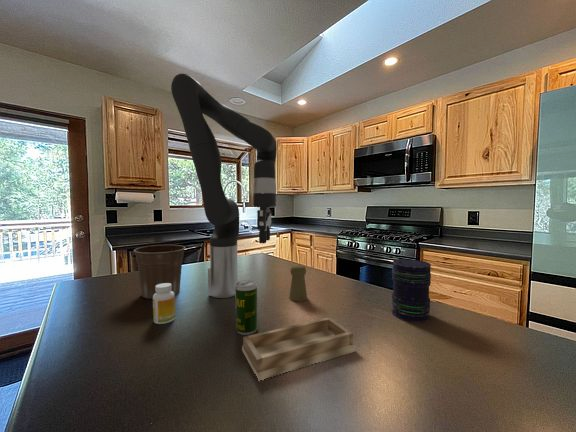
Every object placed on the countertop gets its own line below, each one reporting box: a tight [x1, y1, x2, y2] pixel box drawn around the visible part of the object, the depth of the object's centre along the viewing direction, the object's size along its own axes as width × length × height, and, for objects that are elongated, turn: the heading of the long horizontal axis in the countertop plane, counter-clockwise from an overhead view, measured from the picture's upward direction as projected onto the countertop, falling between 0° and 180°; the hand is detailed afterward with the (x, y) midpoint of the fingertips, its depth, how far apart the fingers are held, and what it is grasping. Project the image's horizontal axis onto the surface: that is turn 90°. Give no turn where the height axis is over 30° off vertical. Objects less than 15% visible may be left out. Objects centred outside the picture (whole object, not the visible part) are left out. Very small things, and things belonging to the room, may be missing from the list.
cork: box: [288, 264, 308, 302], centre depth 88 cm, size 6×6×11 cm
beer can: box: [234, 280, 258, 336], centre depth 66 cm, size 5×5×12 cm
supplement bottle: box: [152, 283, 176, 325], centre depth 72 cm, size 5×5×10 cm
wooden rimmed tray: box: [241, 316, 357, 382], centre depth 57 cm, size 22×11×4 cm, turn 116°
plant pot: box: [133, 244, 186, 300], centre depth 93 cm, size 16×16×16 cm
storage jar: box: [391, 258, 432, 324], centre depth 75 cm, size 10×10×15 cm
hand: (264, 241), depth 88 cm, fingers open, 8 cm apart
